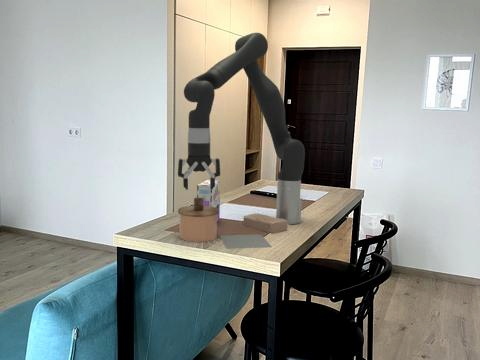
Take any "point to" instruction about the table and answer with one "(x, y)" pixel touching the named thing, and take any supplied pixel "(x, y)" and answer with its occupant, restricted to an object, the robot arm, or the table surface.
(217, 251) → the table surface
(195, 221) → the pot
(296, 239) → the table surface
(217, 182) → the candy box
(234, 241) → the mat
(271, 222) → the brick
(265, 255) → the table surface
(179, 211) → the lid
